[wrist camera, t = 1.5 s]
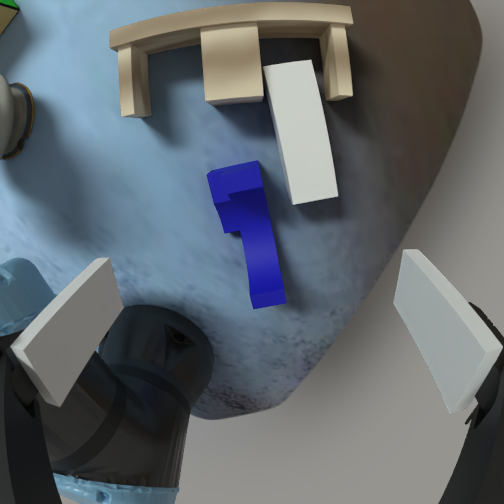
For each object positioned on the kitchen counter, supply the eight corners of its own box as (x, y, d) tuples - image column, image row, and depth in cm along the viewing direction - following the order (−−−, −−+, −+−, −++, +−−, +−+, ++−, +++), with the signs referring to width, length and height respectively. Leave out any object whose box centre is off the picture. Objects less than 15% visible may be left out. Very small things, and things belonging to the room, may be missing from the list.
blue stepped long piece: (211, 170, 27) (200, 180, 22) (257, 160, 27) (259, 167, 21) (239, 280, 32) (237, 312, 26) (280, 272, 31) (286, 303, 26)
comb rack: (343, 101, 24) (361, 95, 20) (134, 119, 25) (112, 118, 20) (335, 24, 21) (350, 6, 16) (130, 44, 22) (109, 30, 17)
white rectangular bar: (327, 187, 28) (338, 196, 24) (287, 195, 28) (293, 204, 25) (303, 69, 23) (311, 59, 20) (261, 75, 24) (263, 66, 20)
